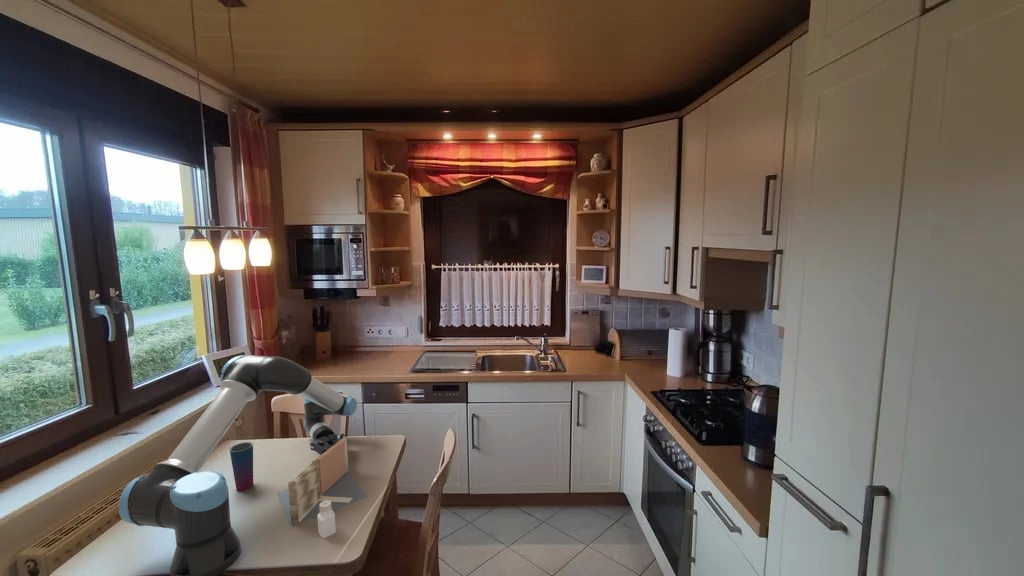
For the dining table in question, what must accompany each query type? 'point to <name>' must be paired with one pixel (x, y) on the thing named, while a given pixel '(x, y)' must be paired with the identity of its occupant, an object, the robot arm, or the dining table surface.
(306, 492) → the fixed fence section
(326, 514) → the salt shaker
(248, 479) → the cup
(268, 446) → the dining table surface
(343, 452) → the pink wooden flat board
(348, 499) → the card
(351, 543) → the dining table surface
